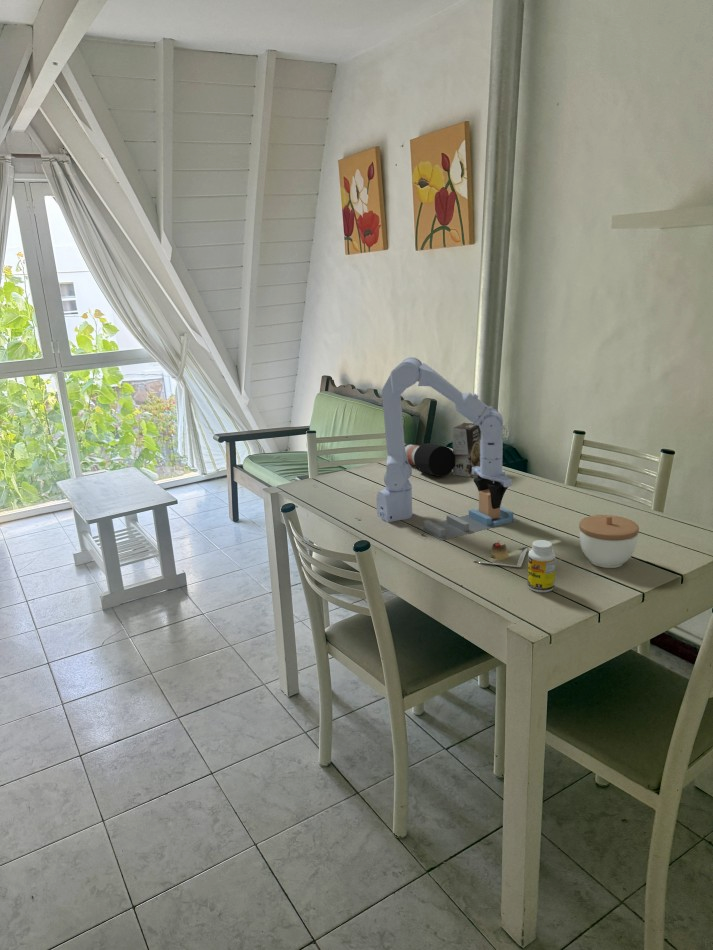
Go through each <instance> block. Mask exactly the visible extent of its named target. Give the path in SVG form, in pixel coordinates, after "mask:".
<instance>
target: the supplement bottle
mask: <svg viewBox="0 0 713 950" xmlns="http://www.w3.org/2000/svg"><path fill="white" fill-rule="evenodd" d="M527 556H528V557H527V559H528V560H527V587H528V589H529V590H531V591H534V592H536V593H549V592H551V591H552V590H553V591H554V589H555V582H556V580H555V579H556V578H555V577H556V561H557V560H556V557H557V555H556V552H555V551H554V550H553V543H552V542H551V541H548V540H545V539H544V540H543V539H538V540H534V541H533V542H532V547H531V549H530V550H529V551H528V555H527Z"/></svg>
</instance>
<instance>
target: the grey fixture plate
mask: <svg viewBox="0 0 713 950" xmlns="http://www.w3.org/2000/svg"><path fill="white" fill-rule="evenodd" d="M518 521H520V519H518V518H517V517H516V518H515V517H514V511H511V510H509V509H507V508H505V507H502V506H500V517H498V518H494V519H492V518H491V517H489V516H487V515H485V514H483V513H481V512H479V508H478V509H474V508H472V509H469V510H468V514H466V515H462V516H455V515H453V514H446V520H441V521H438V522H434V521H432V520H430V519H426V520H423V525H421V526H417V528H419V529H420V530H422V531H423V532H426V534H429V535H430V536H433V537H434V538H436V539H437V540H439V541H445V540H446V541H447V540H450V539H454V538H458V537H461V536H464V535H468V534H469V535H470V534H472V533H475V532H481V531H483V530H487V529H491V528H496V527H499V526H504V525H507V524H511V523H515V522H518Z"/></svg>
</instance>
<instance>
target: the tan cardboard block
mask: <svg viewBox="0 0 713 950" xmlns="http://www.w3.org/2000/svg"><path fill="white" fill-rule="evenodd" d="M478 509H479V512H481V513H483V514H485V515H487V516H489V517H491V518H492V519H494V518H498V517H500V508H497V509H493V508H492V504H491V494H490V491H489V489H487V490H482V491H478Z"/></svg>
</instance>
